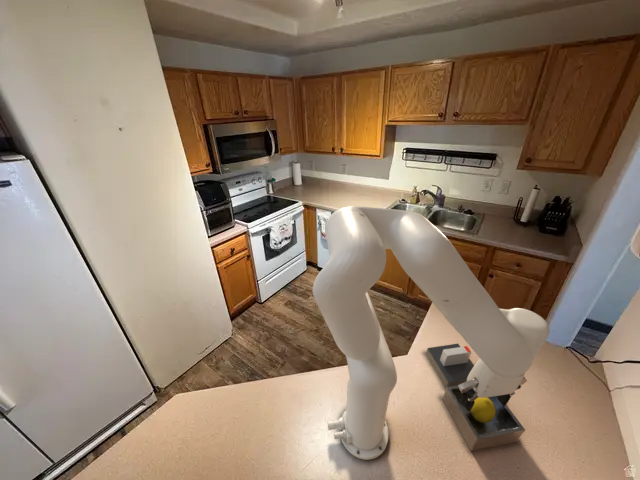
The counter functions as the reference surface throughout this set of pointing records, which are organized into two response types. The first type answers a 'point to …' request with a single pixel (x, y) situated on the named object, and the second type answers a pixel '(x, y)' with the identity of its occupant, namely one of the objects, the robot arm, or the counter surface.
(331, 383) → the counter surface
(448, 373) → the sink deck
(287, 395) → the counter surface
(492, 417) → the lemon
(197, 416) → the counter surface
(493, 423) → the basin
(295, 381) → the counter surface
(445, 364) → the white block red stripe
